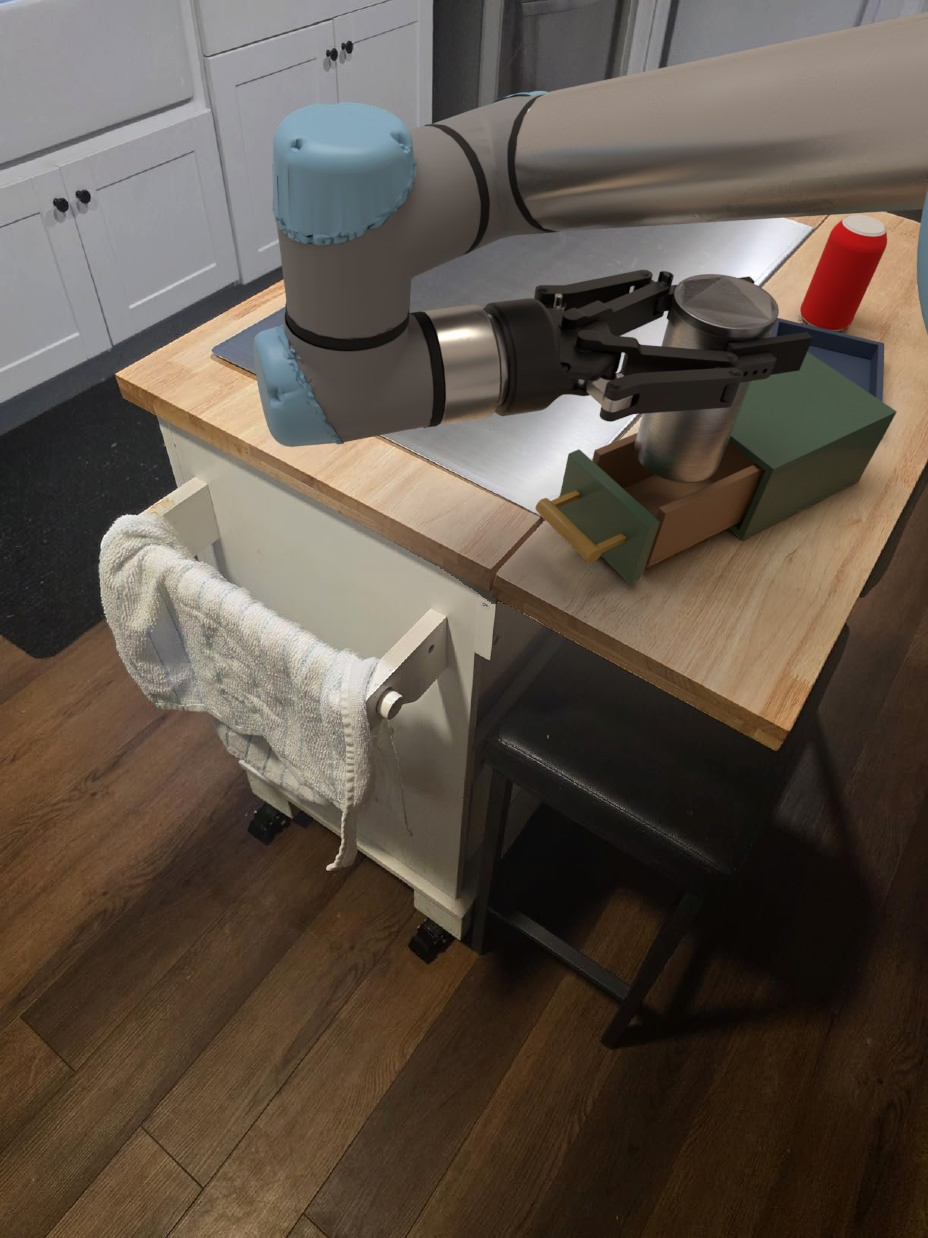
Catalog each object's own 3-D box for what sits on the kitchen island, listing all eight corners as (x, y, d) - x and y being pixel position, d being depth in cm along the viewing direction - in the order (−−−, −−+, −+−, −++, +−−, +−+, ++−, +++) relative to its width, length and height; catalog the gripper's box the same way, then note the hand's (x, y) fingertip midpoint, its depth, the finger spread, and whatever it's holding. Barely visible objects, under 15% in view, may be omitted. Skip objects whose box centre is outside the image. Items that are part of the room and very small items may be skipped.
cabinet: (741, 540, 79) (774, 469, 72) (657, 468, 85) (680, 396, 78) (858, 481, 85) (897, 411, 79) (773, 418, 91) (802, 347, 85)
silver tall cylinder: (740, 465, 73) (801, 312, 62) (674, 495, 70) (726, 339, 59) (678, 417, 76) (726, 264, 66) (613, 443, 73) (652, 288, 63)
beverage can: (853, 319, 105) (898, 220, 96) (842, 342, 102) (887, 243, 93) (803, 303, 107) (843, 205, 98) (791, 326, 103) (830, 226, 94)
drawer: (591, 604, 71) (608, 546, 66) (518, 528, 77) (528, 469, 71) (757, 521, 79) (782, 464, 74) (680, 458, 84) (699, 400, 79)
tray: (871, 441, 90) (882, 420, 88) (751, 410, 92) (759, 390, 90) (874, 362, 100) (884, 342, 98) (766, 336, 101) (774, 316, 100)
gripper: (440, 331, 68) (695, 298, 74) (536, 499, 56) (831, 444, 62) (445, 237, 63) (721, 210, 69) (553, 402, 51) (876, 352, 57)
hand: (773, 322), depth 65 cm, fingers closed on silver tall cylinder, 7 cm apart
